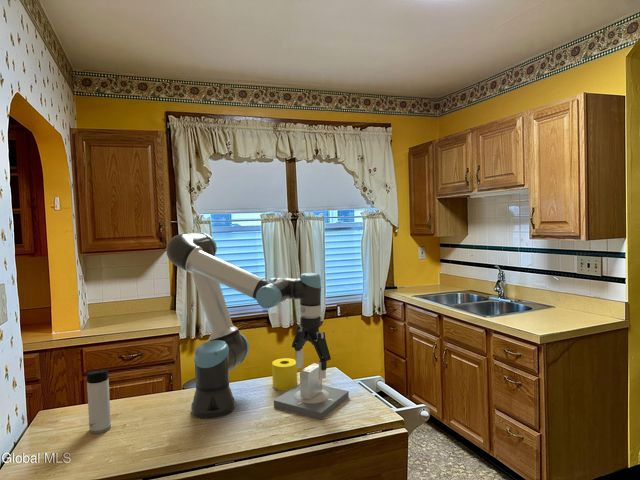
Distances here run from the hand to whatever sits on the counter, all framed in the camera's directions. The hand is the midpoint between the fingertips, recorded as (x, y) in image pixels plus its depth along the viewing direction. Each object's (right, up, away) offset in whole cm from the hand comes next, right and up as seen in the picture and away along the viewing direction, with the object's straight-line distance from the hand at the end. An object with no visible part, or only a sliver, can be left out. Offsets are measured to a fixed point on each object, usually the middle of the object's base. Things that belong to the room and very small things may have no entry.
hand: (310, 372), depth 159 cm
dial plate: (+1, -11, +1) cm, 11 cm away
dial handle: (0, -8, 0) cm, 8 cm away
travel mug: (-69, -14, -17) cm, 72 cm away
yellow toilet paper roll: (-11, -10, +17) cm, 22 cm away
